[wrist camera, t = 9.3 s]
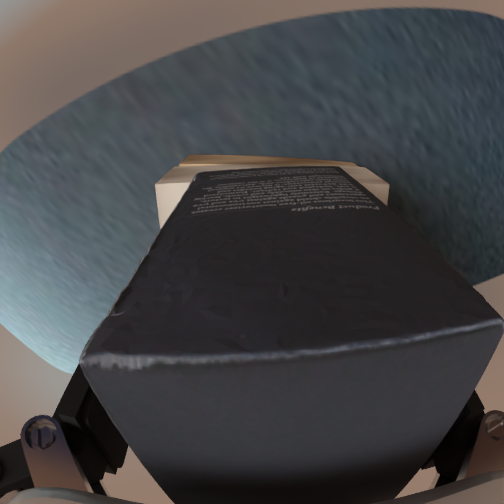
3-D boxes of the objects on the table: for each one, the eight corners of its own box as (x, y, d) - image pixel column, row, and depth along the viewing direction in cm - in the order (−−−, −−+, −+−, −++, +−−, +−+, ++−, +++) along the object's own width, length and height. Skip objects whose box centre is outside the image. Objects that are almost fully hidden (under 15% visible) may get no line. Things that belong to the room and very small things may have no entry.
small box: (335, 354, 17) (374, 529, 8) (219, 360, 17) (201, 541, 8) (349, 162, 12) (533, 324, 3) (190, 170, 13) (49, 362, 3)
